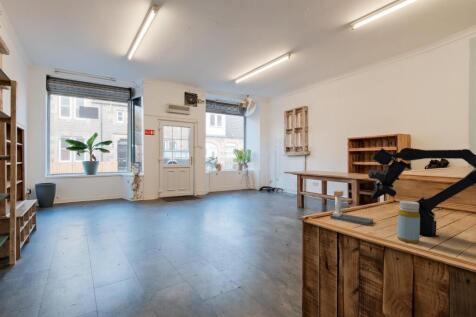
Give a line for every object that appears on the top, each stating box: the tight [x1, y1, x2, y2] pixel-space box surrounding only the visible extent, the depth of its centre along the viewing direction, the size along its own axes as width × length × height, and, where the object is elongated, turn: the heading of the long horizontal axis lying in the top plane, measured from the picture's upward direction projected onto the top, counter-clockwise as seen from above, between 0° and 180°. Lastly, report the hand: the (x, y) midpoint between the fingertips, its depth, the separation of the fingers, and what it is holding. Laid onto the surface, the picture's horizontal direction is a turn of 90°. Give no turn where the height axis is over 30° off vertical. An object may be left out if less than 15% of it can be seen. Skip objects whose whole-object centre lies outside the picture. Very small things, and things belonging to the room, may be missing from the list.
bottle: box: [396, 200, 421, 244], centre depth 93 cm, size 7×7×15 cm
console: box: [329, 213, 374, 226], centre depth 122 cm, size 18×9×2 cm, turn 47°
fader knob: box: [332, 190, 344, 216], centre depth 127 cm, size 4×5×12 cm
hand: (372, 198), depth 115 cm, fingers closed
